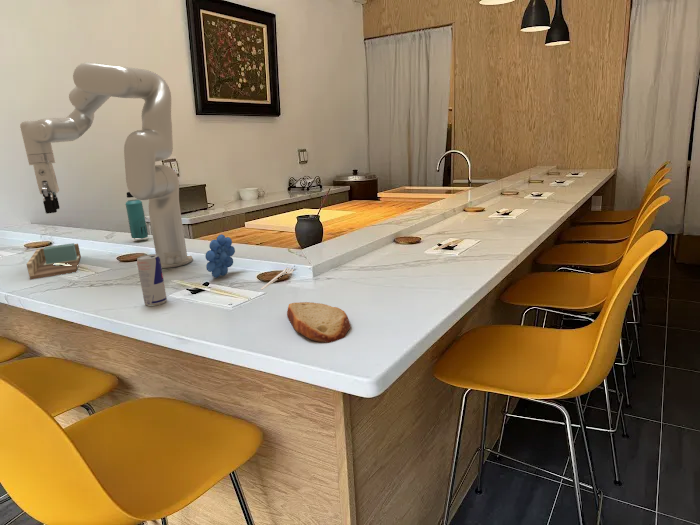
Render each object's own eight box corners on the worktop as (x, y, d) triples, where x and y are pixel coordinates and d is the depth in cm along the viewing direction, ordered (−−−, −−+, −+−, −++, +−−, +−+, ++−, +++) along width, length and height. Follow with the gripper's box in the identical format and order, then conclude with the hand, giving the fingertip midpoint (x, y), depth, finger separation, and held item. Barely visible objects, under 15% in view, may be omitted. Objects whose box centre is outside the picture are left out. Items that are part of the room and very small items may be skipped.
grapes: (225, 269, 157) (220, 230, 154) (242, 270, 154) (237, 231, 151) (197, 280, 148) (191, 239, 144) (216, 282, 144) (210, 240, 141)
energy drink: (171, 300, 132) (164, 254, 129) (156, 307, 127) (147, 260, 124) (155, 298, 134) (148, 253, 131) (140, 305, 129) (131, 259, 126)
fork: (255, 292, 136) (254, 285, 135) (287, 269, 154) (287, 263, 153) (266, 292, 135) (265, 285, 134) (297, 269, 153) (297, 263, 152)
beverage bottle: (143, 242, 205) (134, 192, 200) (128, 242, 206) (119, 192, 201) (152, 238, 211) (144, 189, 206) (137, 239, 213) (129, 190, 207)
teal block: (46, 264, 175) (43, 249, 174) (48, 261, 179) (44, 247, 178) (76, 259, 178) (73, 245, 177) (77, 257, 182) (74, 243, 181)
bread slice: (294, 308, 121) (292, 293, 120) (367, 313, 115) (366, 297, 114) (255, 339, 105) (253, 322, 104) (338, 346, 99) (336, 328, 98)
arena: (76, 272, 166) (73, 257, 165) (30, 279, 161) (26, 264, 160) (80, 256, 188) (78, 243, 186) (40, 262, 183) (36, 249, 181)
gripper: (51, 159, 163) (63, 212, 168) (56, 157, 179) (67, 206, 183) (24, 161, 161) (37, 216, 165) (32, 159, 176) (43, 209, 180)
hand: (53, 211), depth 174 cm, fingers open, 9 cm apart
